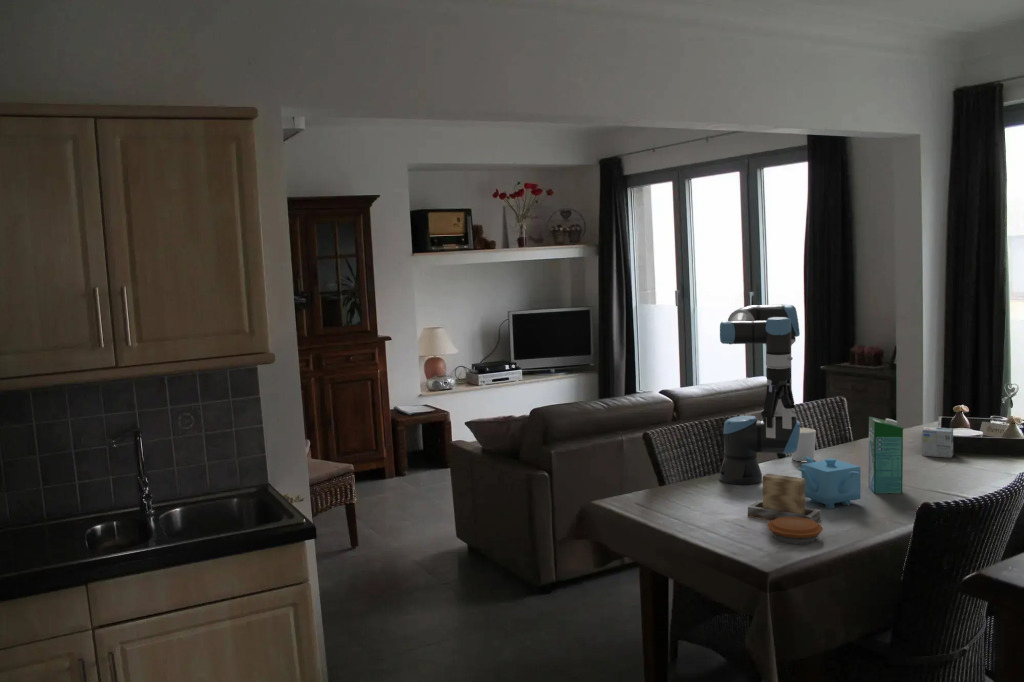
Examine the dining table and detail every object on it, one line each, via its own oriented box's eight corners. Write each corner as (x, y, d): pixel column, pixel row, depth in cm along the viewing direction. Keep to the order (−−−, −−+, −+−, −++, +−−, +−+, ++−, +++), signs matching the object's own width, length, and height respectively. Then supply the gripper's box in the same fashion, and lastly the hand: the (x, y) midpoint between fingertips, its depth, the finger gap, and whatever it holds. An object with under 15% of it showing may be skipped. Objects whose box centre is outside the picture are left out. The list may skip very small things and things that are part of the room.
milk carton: (902, 493, 285) (903, 421, 283) (874, 493, 287) (874, 421, 285) (895, 486, 294) (896, 416, 292) (868, 486, 296) (868, 416, 294)
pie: (806, 527, 255) (806, 511, 254) (833, 544, 240) (833, 527, 239) (758, 532, 252) (757, 516, 252) (782, 549, 237) (782, 532, 237)
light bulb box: (953, 454, 336) (953, 428, 335) (951, 458, 330) (952, 431, 329) (923, 452, 341) (924, 426, 340) (921, 455, 336) (922, 429, 335)
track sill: (747, 516, 267) (747, 507, 267) (759, 509, 274) (759, 500, 274) (810, 527, 255) (810, 517, 254) (820, 519, 262) (820, 510, 261)
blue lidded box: (860, 497, 283) (861, 454, 282) (859, 513, 266) (860, 467, 265) (801, 493, 291) (801, 451, 290) (797, 508, 274) (796, 464, 272)
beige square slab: (762, 513, 267) (762, 476, 265) (768, 509, 270) (767, 473, 269) (800, 519, 259) (800, 481, 258) (805, 516, 262) (805, 478, 261)
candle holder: (784, 458, 339) (784, 429, 338) (805, 455, 342) (805, 426, 341) (800, 463, 330) (800, 433, 329) (821, 461, 333) (821, 431, 332)
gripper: (775, 373, 252) (775, 443, 254) (804, 361, 271) (804, 426, 274) (751, 372, 256) (751, 440, 259) (781, 360, 276) (782, 423, 278)
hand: (779, 433), depth 266 cm, fingers open, 13 cm apart
